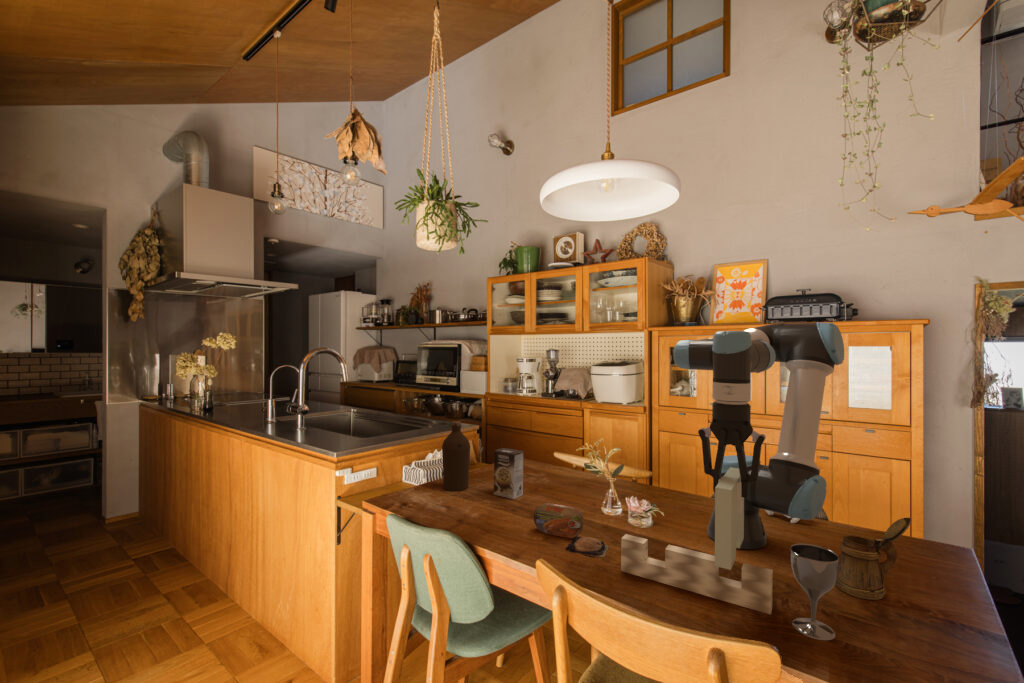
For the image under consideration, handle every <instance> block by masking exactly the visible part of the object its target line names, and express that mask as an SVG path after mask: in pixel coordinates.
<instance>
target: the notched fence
mask: <svg viewBox="0 0 1024 683" xmlns="http://www.w3.org/2000/svg"><path fill="white" fill-rule="evenodd" d="M620 543H621V544H620V545H621V546H620V547H621V548H620V549H621V550H620V551H621V552H620V556H621V557H620V560H621V562H620V568H621V569H620V571H621V572H623V573H627V574H630V575H633V576H637V577H641V578H644V579H646V580H647V579H648V580H651V581H655V582H658V583H661V584H665V585H668V586H671V587H675V588H679V589H682V590H685V591H689V592H692V593H696V594H697V595H698V594H699V595H702V596H706V597H709V598H713V599H715V600H719V601H723V602H726V603H729V604H733V605H737V606H740V607H744V608H747V609H751V610H754V611H757V612H760V613H764V614H767V615H772V613H773V612H772V610H773V585H774V584H773V579H774V578H773V576H774V575H773V573H774V572H773V569H769V568H766V567H762V566H757V565H754V564H750V563H746V562H743V564H742V566H741V581H740V580H739V581H738V580H735V579H731V578H727V577H724V576H720V575H719V574H720V573H719V572H720V571H719V570H720V567H717V566H715V554H714V555H713V554H709V553H705V552H701V551H696V550H693V549H690V548H684V547H681V546H677V545H671V544H668V545H666V547H665V549H664V557H665V558H664V560H661V559H657V558H656V559H655V558H652V557H650V556H648V555H649V550H648V549H649V547H648V546H649V544H648V543H649V540H648V539H647V538H643V537H640V536H635V535H632V534H628V533H625V534H624V535H623V536H622V537H621V542H620Z"/></svg>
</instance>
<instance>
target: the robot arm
mask: <svg viewBox="0 0 1024 683" xmlns="http://www.w3.org/2000/svg"><path fill="white" fill-rule="evenodd" d="M844 360H845V344H844V339H843V335H842V332H841V329H840V327H838V325H836V323H833V322H820V321H817V322H794V323H793V322H788V323H787V322H785V323H783V322H782V323H781V322H780V323H769V324H766V325H760V326H755V327H751V328H747V329H745V330H719V331H716V332H714V334H713V337H709V338H703V339H702V338H701V339H683V340H682V339H681V340H679V341H678V342H676V344H675V345H674V348H673V361H674V363H675V365H676V366H677V367H678V368H680V369H683V370H689V371H691V370H695V371H696V370H699V371H712V397H711V398H712V399H713V400H714V401H713V402H712V405H711V406H712V407H711V408H712V410H711V412H712V418H711V423H710V424H709V426H707V427H705V428H704V427H701V428H700V429H698V430H697V433H698V436H699V437H700V440H701V448H702V449H701V450H702V458H703V461H702V462H703V472H704V474H705V475H707V476H711V478H712V480H713V483H712V484H713V485H712V491H713V492H714V494H713V498H714V500H713V501H714V504H713V510H712V512H711V515H710V519H709V523H708V524H707V536H708V537H709V538H710V539H711V540H713V541H714V542H715V487H716V486H717V484H718V483H719V482H720V480H721V479H722V478H723V476H724V475H725V473H726V472H727V471H728V469H729V468H730V467H731V468H738V469H739V471H740V477H741V480H739V481H738V482H737V513H739V514H741V513H742V511H743V497H744V539H743V541H742V544H741V546H740V549H741V550H759V549H762V548H764V547H766V545H767V533H766V531H765V528H764V523H763V521H762V517H761V515H760V509H761V510H764V511H765V510H768V511H772V512H774V514H775V513H776V514H780V515H783V516H784V515H787V516H789V517H791V519H792V518H799V519H800V520H804V521H811V520H813V519H815V518H816V517H818V515H819V514H820V513H821V511H822V508H823V506H824V503H825V501H826V497H827V481H826V480H827V479H826V478H825V477H824V476H822V475H820V473H821V469H820V468H819V467H818V465H817V464H816V463H815V457H816V450H817V445H818V444H817V443H818V436H819V431H820V430H819V428H820V423H821V422H820V421H821V414H822V410H823V409H822V407H823V402H824V394H825V386H826V381H827V377H828V376H830V375H831V374H833V373H834V369H835V365H836V366H839V365H842V364H844ZM775 363H784V366H785V368H786V369H787V370H788V372H789V375H788V382H787V389H786V395H785V402H784V408H783V414H782V421H781V426H780V427H781V428H780V431H779V440H778V445H777V451H776V453H775V455H773V456H771V457H770V458H769V459H768V460H769V461H768V465H766V464H762V463H761V454H762V445H763V443H764V442H765V440H766V438H767V437H766V434H763V433H759V432H757V431H755V430H754V428H753V426H752V423H751V416H752V414H751V404H750V403H749V402H750V401H751V398H752V397H751V394H752V393H751V392H752V390H751V388H752V387H751V386H752V382H751V381H752V380H751V377H752V376H751V375H752V373H756V374H759V373H762V372H766V371H767V370H769V369H771V368H772V367H773V365H774V364H775ZM711 432H712V434H713V435H714V437H715V439H717V441H718V443H717V450H716V456H715V460H714V468H713V464H712V452H711V451H712V450H711V440H710V437H711V435H712V434H711ZM750 436H751V437H752V438H751V439H752V442H753V443H754V445H753V452H752V455H746V452H745V442H746V441H747V440H748V439H749V437H750ZM728 445H731V446H734V448H735V452H736V455H735V454H733V455H726V456H725V453H726V448H727V446H728ZM740 549H739V550H740Z"/></svg>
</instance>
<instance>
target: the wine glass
mask: <svg viewBox="0 0 1024 683" xmlns="http://www.w3.org/2000/svg"><path fill="white" fill-rule="evenodd" d="M789 549H790V550H789V551H790V552H789V553H790V554H789V555H790V564H791V570H792V574H793V576H794V579H795V580H796V581H797V583H798V584H799V585H800V587H801V588H802V589H803V591H804V592H805V593H806V595H807V597H808V599H809V605H810V614H811V615H810V616H811V617H796V618H794V619H793V620H792V622H791V624H792V627H793V628H794V629H795V631H797V632H798V633H800V634H802V635H804V636H806V637H808V638H811V639H813V640H818V641H832V640H834V639H835V638H836V633H835V631H834V630H833V628H832V627H830V626H829V625H828V624H826V623H824V622H821V621H819V620H817V616H816V615H817V608H818V602H819V600H820V598H822V596H824V595H825V594H827V593H828V592H830V591H831V590H832V589H833V588H834V587H835V586H836V585H835V583H836V580H837V576H838V570H839V564H840V558H839V556H838V554H837V553H836V552H835V551H833V550H832V549H831V550H830V549H829V548H826V547H824V546H819V545H817V544H810V543H800V542H798V543H795V544H794V543H793V544H791V546H790V548H789Z"/></svg>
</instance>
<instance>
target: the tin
mask: <svg viewBox="0 0 1024 683" xmlns="http://www.w3.org/2000/svg"><path fill="white" fill-rule="evenodd" d="M533 523H534V525H535V527H536V528H537V529H538V531H540V532H541V533H543V534H546V535H550V536H556V537H561V538H565V539H566V538H567V539H575V538H576V537H578V536H579V535H580V534H581V533H582V532H583V530H584V528H585V526H584V525H585V519H584V516H583V514H582V513H581V511H580V510H579V509H578V508H576V507H573V506H568V505H563V504H556V503H550V502H546V503H543V504H540V505H538V506H537V507H536V508H535V510H534V512H533Z"/></svg>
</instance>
